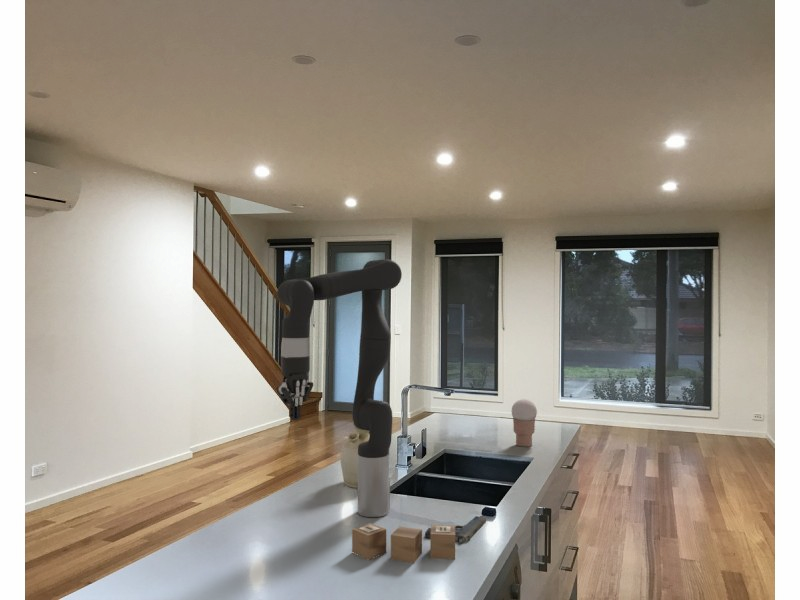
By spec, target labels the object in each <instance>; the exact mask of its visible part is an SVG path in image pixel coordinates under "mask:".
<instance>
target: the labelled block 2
mask: <svg viewBox="0 0 800 600" xmlns="http://www.w3.org/2000/svg"><path fill="white" fill-rule="evenodd" d="M455 526H456V525H443V524H442V525H441V524H431V527H430V528H431V534H430V538H429V539H430V546H429V547H430V550H429V551H430V554H429V555H430V559H442V560H456V541H455Z"/></svg>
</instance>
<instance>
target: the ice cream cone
mask: <svg viewBox="0 0 800 600" xmlns="http://www.w3.org/2000/svg"><path fill="white" fill-rule="evenodd" d="M511 415H512V422H513V433H515V437H516V438H515V444H516V446H518V447H531V446H533V435H534V433H535V430H536V429H535V427H536V426H535V424H536V418H537V415H538V410H537V407H536V405H535V403H534V402H533V401H531V400H529V399H527V398H521V399H518V400H516V401H515V402H514V403H513V405H512V407H511Z"/></svg>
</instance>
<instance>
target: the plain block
mask: <svg viewBox="0 0 800 600" xmlns="http://www.w3.org/2000/svg"><path fill="white" fill-rule="evenodd" d="M422 553H423V529H421V528H420V529H419V528H415V527H414V528H413V527H406V526H400V525H399V526H398V527H397V528H396V529H395V530H394V531H393V532H392V533H391V534H390V560H392V559H394V560H393V561H398V560H399V561H400V562H405V561H406V563H411V562H412V564H415V563H416V562H417V560H418V559H419V558H420V556H422Z"/></svg>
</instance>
